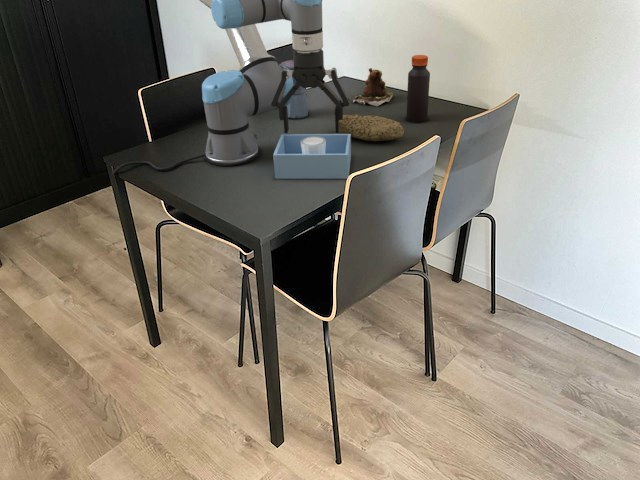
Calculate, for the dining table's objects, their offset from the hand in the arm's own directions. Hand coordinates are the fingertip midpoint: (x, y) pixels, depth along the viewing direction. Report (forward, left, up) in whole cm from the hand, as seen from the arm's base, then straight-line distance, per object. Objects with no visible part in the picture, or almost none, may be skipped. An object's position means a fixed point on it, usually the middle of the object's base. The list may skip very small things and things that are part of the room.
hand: (311, 131), depth 148 cm
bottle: (+30, +37, -11) cm, 49 cm away
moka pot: (-11, +42, -11) cm, 44 cm away
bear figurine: (+16, +58, -11) cm, 61 cm away
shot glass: (0, 0, -10) cm, 10 cm away
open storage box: (0, 0, -10) cm, 10 cm away
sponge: (+15, +21, -11) cm, 28 cm away
